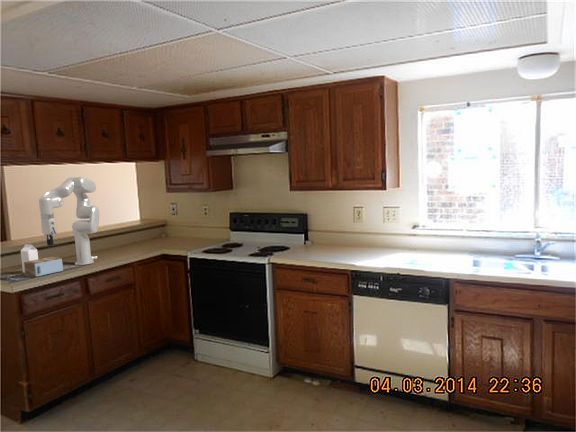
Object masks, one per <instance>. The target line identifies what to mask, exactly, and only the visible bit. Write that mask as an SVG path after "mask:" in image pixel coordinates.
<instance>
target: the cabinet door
mask: <svg viewBox="0 0 576 432" xmlns="http://www.w3.org/2000/svg"><path fill="white" fill-rule="evenodd" d="M63 265H64V264H63V259H62V258H61V259H57V260H52V261H47V262H42V263H37V264H34V267H35V276H38V277H41V275H42V276H45V274H47V275H51V274H55V273H54V272H56V273H60V272H63V271H64V266H63ZM59 271H60V272H59ZM50 273H51V274H50Z"/></svg>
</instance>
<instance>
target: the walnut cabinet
mask: <svg viewBox="0 0 576 432" xmlns="http://www.w3.org/2000/svg"><path fill="white" fill-rule="evenodd" d="M57 259H62V258H61V257H54V256H48V257H43V258H38V259H37V260H32V261H27V262H24V268H25V273H24V275H26V277H31V278H32V277H33V278H37V277H39V276H35V267H34V264H37V263H42V262H47V261H52V260H57ZM56 273H57V272H54V273H53V274H56ZM58 273H61V271H59V272H58ZM51 274H52V273H50V274H49V275H51ZM45 275H46V276H47V275H48V274H45ZM45 275H44V276H45ZM41 276H43V275H41ZM41 276H40V277H41Z"/></svg>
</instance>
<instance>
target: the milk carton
mask: <svg viewBox="0 0 576 432" xmlns="http://www.w3.org/2000/svg"><path fill="white" fill-rule="evenodd" d="M20 259H21V268H22V273H23V274H25V268H24V262H27V261H32V260H37V259H39V254H38V249H37V248H36V247H34V245H33V244H26V243H25V244H24V246H23V247H22V249H21V250H20Z"/></svg>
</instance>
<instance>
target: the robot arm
mask: <svg viewBox="0 0 576 432" xmlns="http://www.w3.org/2000/svg"><path fill="white" fill-rule="evenodd" d="M96 189H97V185H96V183H95V182H94V181H93V180H91V179H89V178H86V177H84V176H72V177H68V178H67V179H65V180H64V181H63V182H61V185H59V186H57V187H55V188H53V189H51V190H48V191H47V192H45V193H44V194H43V195H42V196H41V197H40V198H39V199H38V204H39V206H38V207H39V213H40V221H41V224H40V225H41V233H42V234H43V235H44V237H45V239H46V245H47V246H53V245H54V244H55V243H54V237H55V236H56V234H58V230H57V229H58V227H57V223H56V220H55V214H54V209H57V208H58V209H59V208H61V207H63V205H64V199H65V198H67V197H69V196H70V195H71V194H72V193H73V194H74V195H75V197H76V208H75V209H76V210H75V216H76V218H77V219H80V220H76V221H74V222H73V223H72V225H71V227H72V228H71V229H72V232H73V235H74V243H75V255H76V262H74V265H75V266H82V265H83V266H86V265H90V264H94V262H95V261H94V260H97V259H98V256H97V255H95V256H93V255H92V254H91V244H90V243H91V241H90V237H89V236H88V234H95V233H97V231H98V229H99V223H100V222H99V221H100V209H99V207H98V206H97V205H90V203H91V202H90V201H91V199H90V197H89V196H88V194H90V193H91V194H92V193H94V192H96Z"/></svg>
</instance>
